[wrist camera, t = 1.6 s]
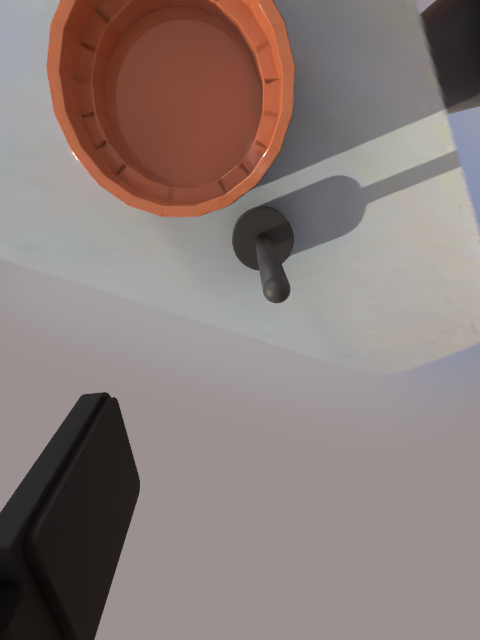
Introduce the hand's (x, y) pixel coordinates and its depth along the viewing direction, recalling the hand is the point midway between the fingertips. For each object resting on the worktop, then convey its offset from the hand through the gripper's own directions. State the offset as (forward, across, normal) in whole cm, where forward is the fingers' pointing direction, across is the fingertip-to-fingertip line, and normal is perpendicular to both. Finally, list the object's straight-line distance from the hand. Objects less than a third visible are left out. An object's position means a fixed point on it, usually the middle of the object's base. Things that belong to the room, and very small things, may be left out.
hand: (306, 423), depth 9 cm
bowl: (+26, +5, -11) cm, 28 cm away
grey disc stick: (+26, 0, 0) cm, 26 cm away
